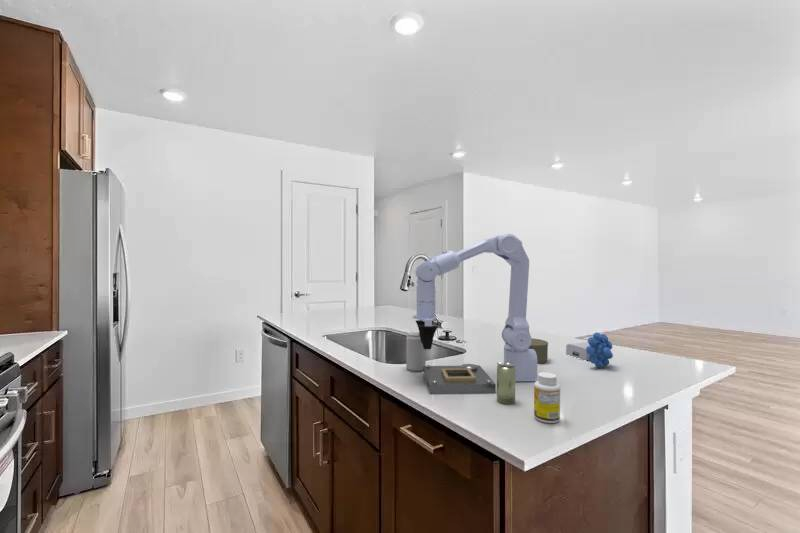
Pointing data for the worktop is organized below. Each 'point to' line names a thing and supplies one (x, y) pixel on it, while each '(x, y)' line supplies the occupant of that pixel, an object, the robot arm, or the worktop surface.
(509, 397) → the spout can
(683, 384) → the worktop surface
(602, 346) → the grapes
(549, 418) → the supplement bottle
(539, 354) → the can
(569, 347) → the charger
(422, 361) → the beverage can
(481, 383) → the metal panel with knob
